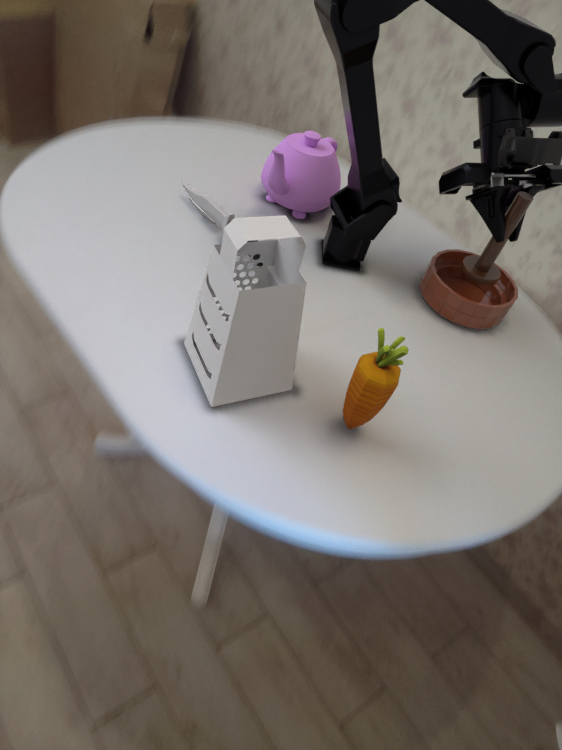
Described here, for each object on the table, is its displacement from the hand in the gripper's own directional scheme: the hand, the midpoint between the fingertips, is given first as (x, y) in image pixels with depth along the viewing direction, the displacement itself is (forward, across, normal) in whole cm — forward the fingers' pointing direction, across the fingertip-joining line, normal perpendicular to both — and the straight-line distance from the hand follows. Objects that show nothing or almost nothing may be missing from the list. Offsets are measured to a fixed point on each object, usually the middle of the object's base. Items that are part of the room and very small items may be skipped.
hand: (506, 241), depth 73 cm
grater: (+13, -40, +5) cm, 43 cm away
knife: (-7, -34, +25) cm, 43 cm away
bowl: (+8, 0, +10) cm, 13 cm away
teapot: (-13, -18, +31) cm, 38 cm away
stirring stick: (+4, 0, +6) cm, 7 cm away
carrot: (+21, -30, -3) cm, 37 cm away
